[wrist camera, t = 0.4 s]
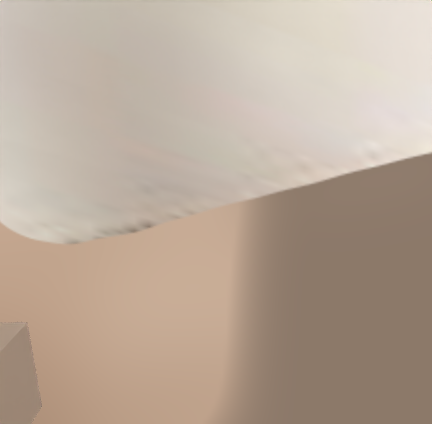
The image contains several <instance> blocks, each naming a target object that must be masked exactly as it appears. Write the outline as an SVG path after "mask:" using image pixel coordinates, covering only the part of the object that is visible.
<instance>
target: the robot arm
mask: <svg viewBox="0 0 432 424" xmlns="http://www.w3.org/2000/svg"><path fill="white" fill-rule="evenodd" d="M41 407H42V404H41V398H40V392H39V386H38V381H37V375H36V369H35V363H34V358H33V352H32V346H31V341H30V335H29V329H28V323H27V322H26V323H25V322H16V323H0V424H31V423H32V422H33V420H34V418H35V417H36V415H37V413H38V412H39V410H40V409H41Z"/></svg>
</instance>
